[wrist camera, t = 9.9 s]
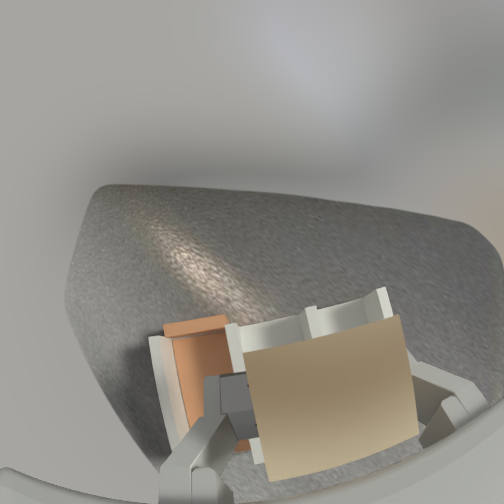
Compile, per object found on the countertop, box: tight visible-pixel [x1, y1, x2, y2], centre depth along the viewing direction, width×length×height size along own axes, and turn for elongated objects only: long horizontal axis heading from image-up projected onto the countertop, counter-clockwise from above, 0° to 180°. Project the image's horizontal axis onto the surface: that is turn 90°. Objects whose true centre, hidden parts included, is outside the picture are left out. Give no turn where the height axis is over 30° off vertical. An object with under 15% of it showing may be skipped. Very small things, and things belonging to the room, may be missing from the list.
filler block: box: [242, 314, 419, 482], centre depth 9 cm, size 3×4×9 cm
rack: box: [148, 287, 393, 464], centre depth 24 cm, size 14×22×5 cm, turn 101°
